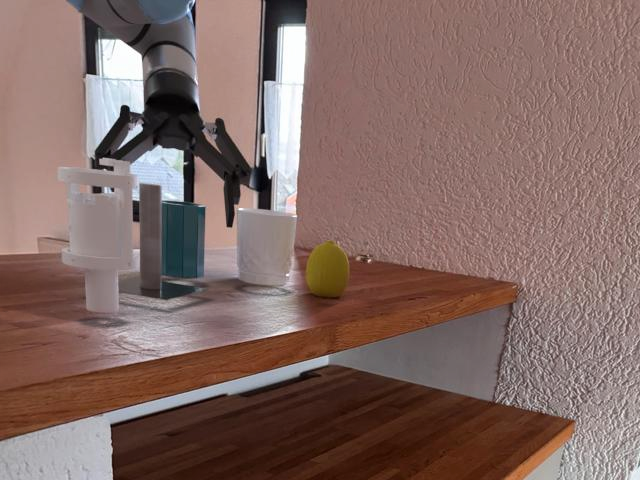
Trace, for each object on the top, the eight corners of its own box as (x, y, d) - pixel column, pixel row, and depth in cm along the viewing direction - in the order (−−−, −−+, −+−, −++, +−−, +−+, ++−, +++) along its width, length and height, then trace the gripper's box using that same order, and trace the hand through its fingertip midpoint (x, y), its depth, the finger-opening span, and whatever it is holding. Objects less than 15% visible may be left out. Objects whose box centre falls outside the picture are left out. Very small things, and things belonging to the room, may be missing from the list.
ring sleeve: (145, 281, 95) (144, 200, 91) (170, 276, 101) (171, 199, 97) (188, 289, 94) (189, 206, 90) (211, 283, 100) (213, 205, 96)
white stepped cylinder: (154, 322, 74) (154, 164, 69) (103, 332, 69) (99, 159, 63) (102, 310, 77) (97, 156, 71) (48, 318, 71) (39, 151, 65)
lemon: (295, 300, 95) (300, 236, 92) (328, 299, 98) (334, 237, 95) (320, 309, 91) (326, 242, 88) (354, 307, 95) (361, 243, 92)
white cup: (282, 297, 96) (288, 217, 92) (225, 289, 97) (228, 209, 93) (298, 289, 103) (303, 214, 99) (244, 281, 104) (248, 207, 100)
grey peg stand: (87, 296, 83) (83, 178, 78) (136, 286, 91) (135, 179, 86) (167, 310, 80) (167, 189, 75) (209, 298, 89) (212, 189, 84)
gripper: (255, 125, 109) (267, 242, 102) (77, 100, 101) (77, 226, 94) (264, 83, 102) (278, 205, 95) (73, 53, 95) (73, 184, 88)
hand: (178, 216), depth 95 cm, fingers open, 13 cm apart
